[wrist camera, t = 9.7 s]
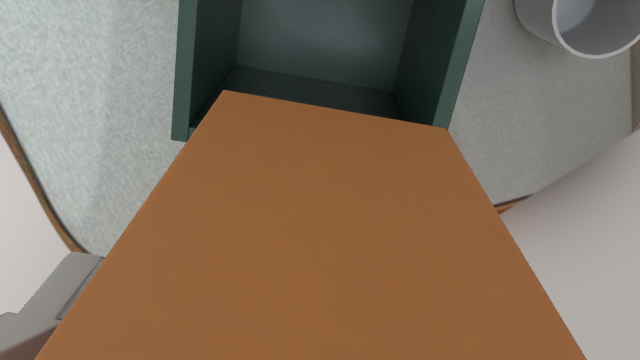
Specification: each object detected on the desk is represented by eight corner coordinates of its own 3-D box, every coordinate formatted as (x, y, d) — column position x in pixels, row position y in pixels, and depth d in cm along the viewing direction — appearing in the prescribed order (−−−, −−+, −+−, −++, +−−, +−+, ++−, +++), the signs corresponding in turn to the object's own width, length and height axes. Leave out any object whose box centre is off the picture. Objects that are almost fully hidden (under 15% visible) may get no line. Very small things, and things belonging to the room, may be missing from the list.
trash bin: (398, 101, 49) (432, 184, 33) (225, 71, 48) (170, 140, 32) (439, -64, 43) (504, -65, 27) (242, -102, 43) (186, -127, 26)
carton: (447, 128, 12) (828, 750, 3) (395, 307, 14) (517, 1007, 5) (223, 88, 12) (-171, 642, 2) (203, 278, 14) (-51, 960, 5)
